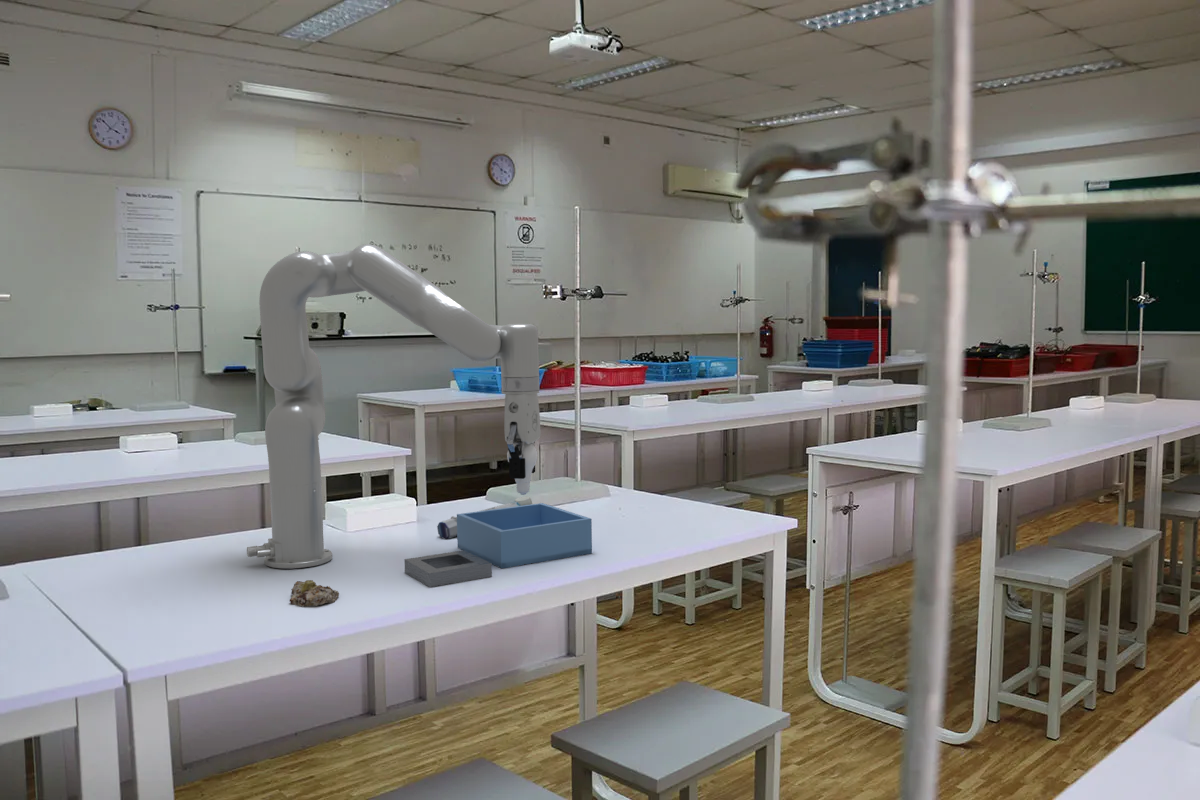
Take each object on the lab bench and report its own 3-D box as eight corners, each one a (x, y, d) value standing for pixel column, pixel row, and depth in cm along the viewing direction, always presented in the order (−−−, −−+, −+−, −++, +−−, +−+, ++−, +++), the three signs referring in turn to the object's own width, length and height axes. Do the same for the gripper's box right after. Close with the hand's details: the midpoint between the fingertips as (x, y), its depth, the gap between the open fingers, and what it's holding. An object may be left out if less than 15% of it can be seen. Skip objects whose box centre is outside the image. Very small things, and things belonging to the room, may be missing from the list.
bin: (501, 568, 179) (500, 531, 178) (457, 547, 195) (456, 514, 195) (592, 553, 189) (591, 518, 189) (542, 534, 206) (542, 503, 206)
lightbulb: (541, 496, 189) (540, 441, 188) (510, 498, 188) (509, 443, 187) (535, 491, 195) (533, 438, 194) (505, 493, 194) (504, 439, 193)
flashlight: (434, 519, 206) (525, 489, 222) (438, 549, 207) (529, 516, 223) (447, 523, 202) (539, 492, 218) (452, 553, 203) (543, 520, 219)
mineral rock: (351, 588, 160) (306, 584, 155) (346, 614, 159) (300, 611, 154) (323, 577, 168) (280, 573, 163) (318, 602, 167) (274, 599, 162)
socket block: (429, 587, 167) (429, 573, 167) (404, 572, 177) (404, 559, 177) (491, 576, 173) (491, 563, 173) (464, 562, 183) (463, 550, 183)
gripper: (525, 389, 180) (528, 483, 182) (550, 382, 197) (552, 469, 199) (488, 389, 182) (490, 482, 184) (515, 383, 199) (517, 468, 200)
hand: (522, 474), depth 191 cm, fingers closed on lightbulb, 6 cm apart
